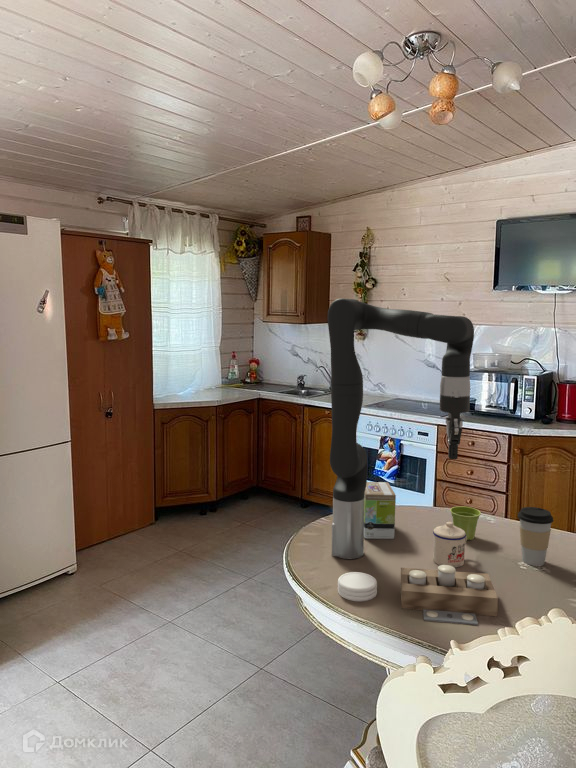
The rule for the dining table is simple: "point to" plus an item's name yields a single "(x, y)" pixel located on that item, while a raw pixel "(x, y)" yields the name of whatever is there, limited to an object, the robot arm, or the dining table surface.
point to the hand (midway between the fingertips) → (452, 458)
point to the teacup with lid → (449, 545)
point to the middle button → (446, 575)
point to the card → (450, 617)
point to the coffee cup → (534, 534)
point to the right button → (475, 581)
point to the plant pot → (466, 519)
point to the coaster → (357, 586)
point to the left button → (417, 577)
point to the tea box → (379, 511)
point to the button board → (448, 594)
